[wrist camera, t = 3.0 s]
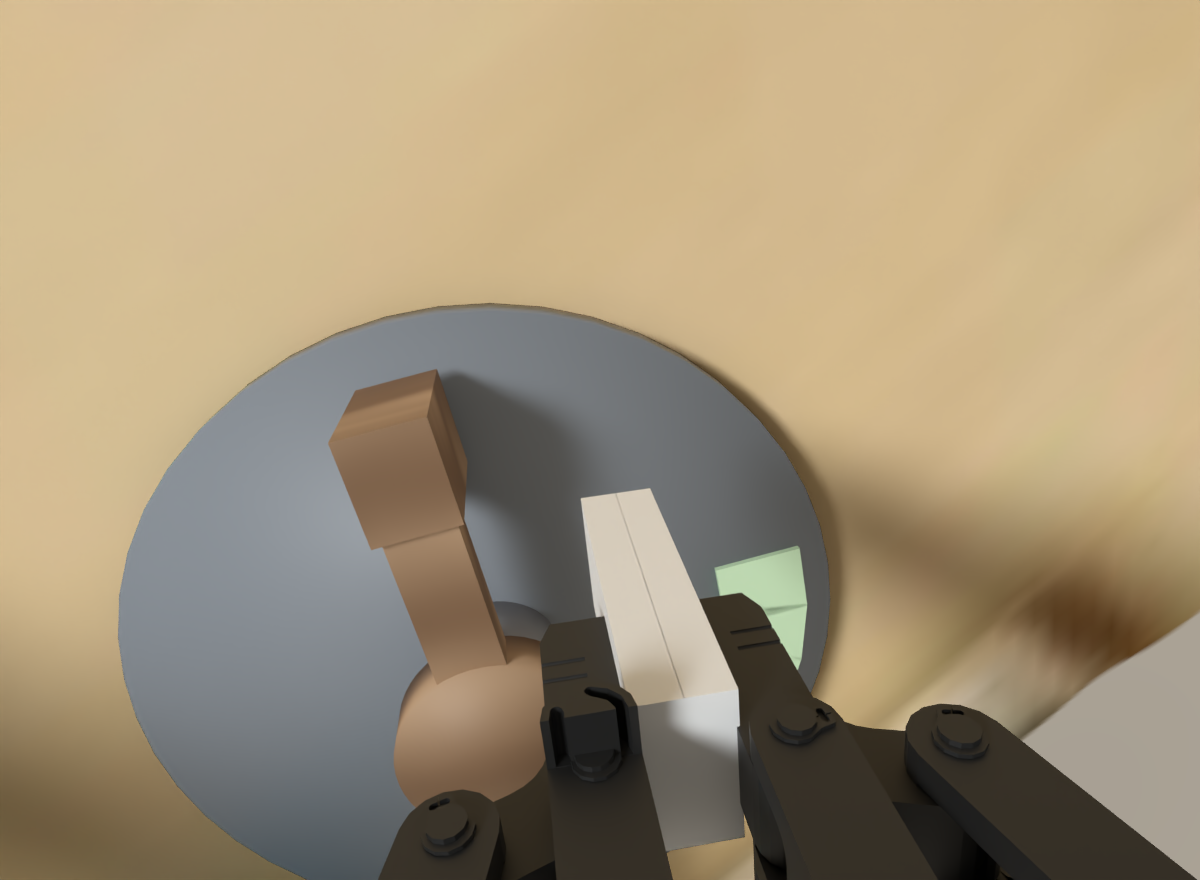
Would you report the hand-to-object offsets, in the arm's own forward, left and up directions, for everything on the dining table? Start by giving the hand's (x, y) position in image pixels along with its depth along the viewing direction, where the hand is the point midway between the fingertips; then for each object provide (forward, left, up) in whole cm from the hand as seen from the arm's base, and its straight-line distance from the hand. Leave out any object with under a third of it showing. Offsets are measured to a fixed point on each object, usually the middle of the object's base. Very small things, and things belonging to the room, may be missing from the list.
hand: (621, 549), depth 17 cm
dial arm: (+2, -9, -7) cm, 12 cm away
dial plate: (+2, -9, -9) cm, 13 cm away
